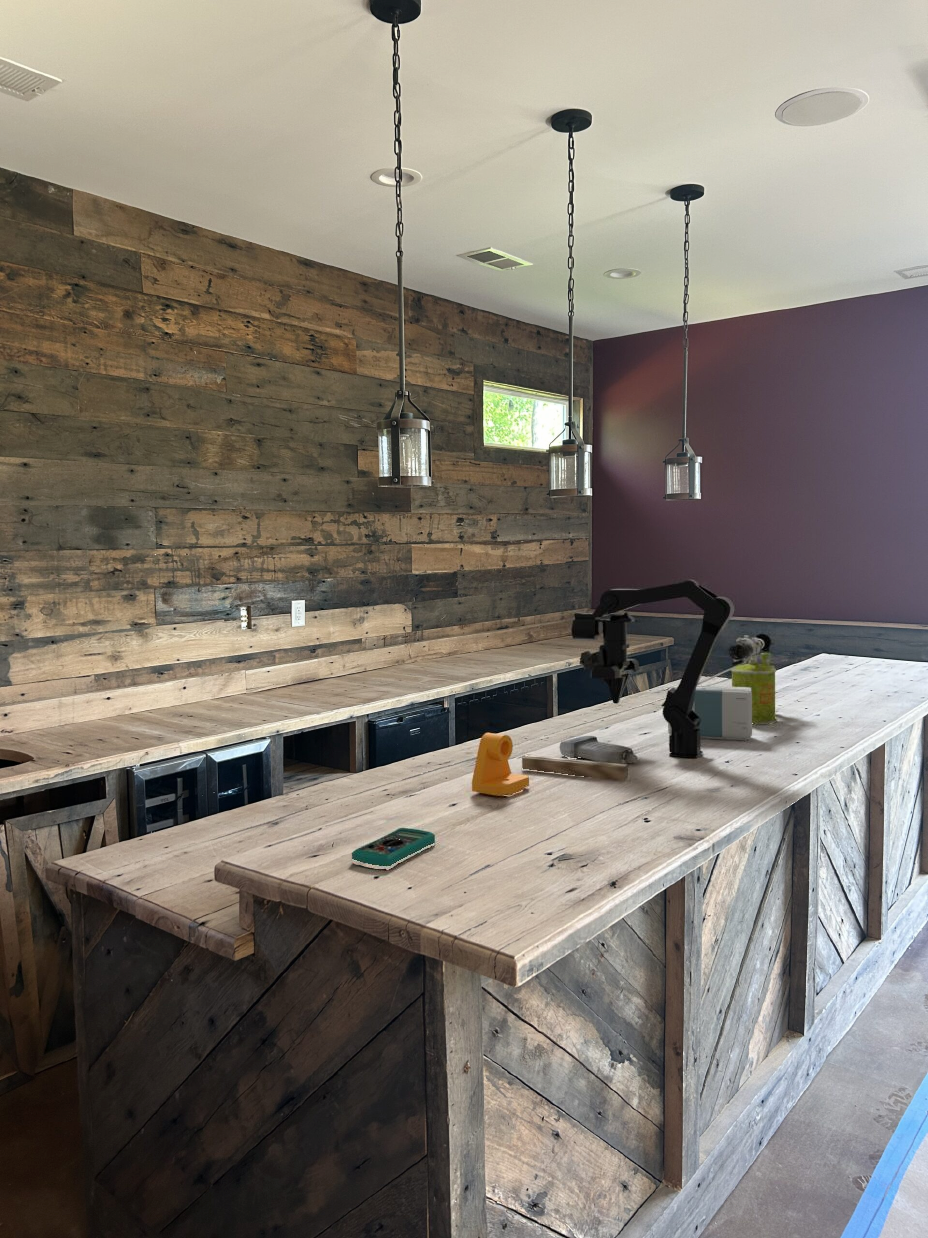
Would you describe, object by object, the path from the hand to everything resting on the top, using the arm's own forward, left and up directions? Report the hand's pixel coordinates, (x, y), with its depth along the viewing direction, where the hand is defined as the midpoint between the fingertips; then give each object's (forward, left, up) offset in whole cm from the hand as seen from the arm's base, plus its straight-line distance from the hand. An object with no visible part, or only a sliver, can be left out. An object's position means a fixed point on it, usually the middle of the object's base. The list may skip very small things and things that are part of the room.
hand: (615, 703), depth 224 cm
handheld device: (0, +10, -12) cm, 16 cm away
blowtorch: (-22, -52, -12) cm, 58 cm away
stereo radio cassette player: (-17, -24, -12) cm, 32 cm away
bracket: (+8, +47, -12) cm, 49 cm away
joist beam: (0, +27, -12) cm, 29 cm away
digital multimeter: (+6, +89, -12) cm, 90 cm away
